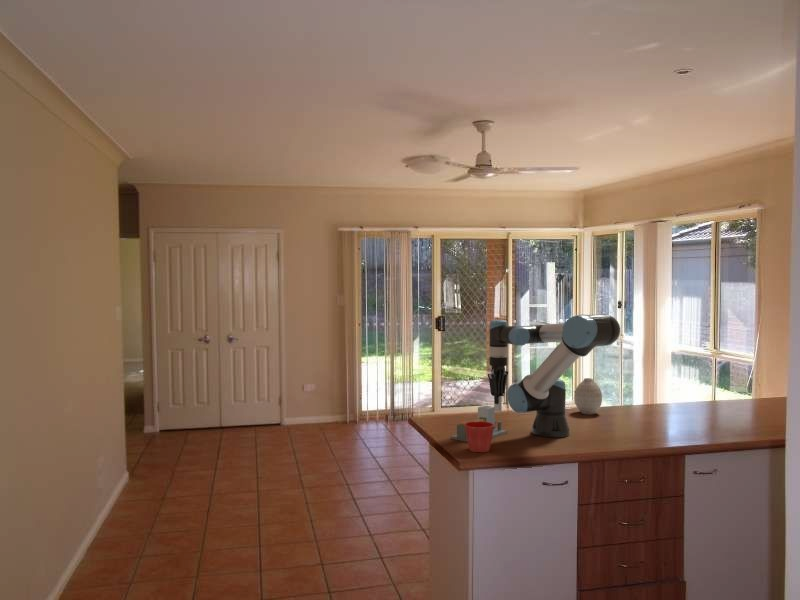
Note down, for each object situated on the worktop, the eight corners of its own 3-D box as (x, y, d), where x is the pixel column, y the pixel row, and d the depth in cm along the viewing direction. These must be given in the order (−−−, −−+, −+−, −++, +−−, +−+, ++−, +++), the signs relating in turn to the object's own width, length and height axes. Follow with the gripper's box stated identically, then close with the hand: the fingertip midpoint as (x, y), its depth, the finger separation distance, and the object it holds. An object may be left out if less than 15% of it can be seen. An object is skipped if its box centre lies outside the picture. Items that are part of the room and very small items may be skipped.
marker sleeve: (494, 426, 265) (494, 407, 265) (487, 428, 262) (488, 408, 261) (484, 424, 269) (484, 405, 269) (477, 426, 265) (477, 407, 265)
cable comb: (506, 433, 264) (507, 416, 264) (475, 443, 247) (475, 426, 247) (482, 428, 272) (482, 412, 272) (450, 438, 255) (450, 421, 255)
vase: (605, 416, 298) (605, 380, 298) (578, 415, 299) (578, 380, 298) (597, 410, 311) (597, 376, 311) (571, 410, 311) (571, 376, 311)
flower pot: (462, 446, 243) (462, 421, 243) (490, 445, 244) (490, 420, 244) (467, 453, 233) (467, 427, 232) (496, 453, 234) (497, 427, 233)
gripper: (498, 354, 279) (498, 407, 279) (482, 357, 269) (482, 412, 269) (513, 355, 274) (513, 410, 274) (497, 358, 264) (497, 414, 265)
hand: (497, 411), depth 272 cm, fingers closed
